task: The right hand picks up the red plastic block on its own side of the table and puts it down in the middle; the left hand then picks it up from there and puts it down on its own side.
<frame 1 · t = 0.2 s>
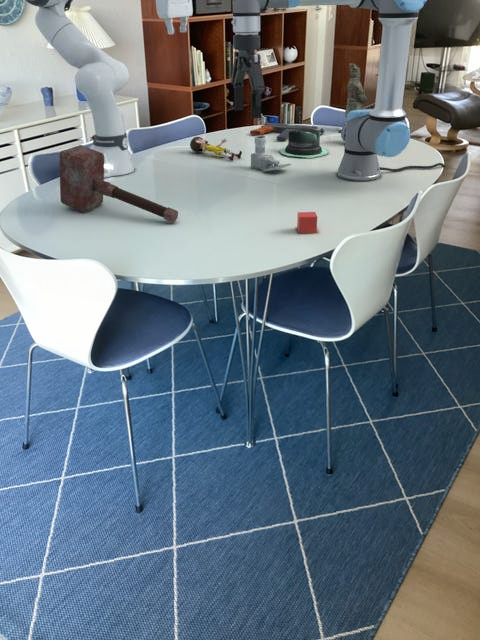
left hand: (177, 33, 183), 48 cm above the table, tool pointing down, fingers open, 8 cm apart
right hand: (247, 114, 165), 28 cm above the table, tool pointing down, fingers open, 13 cm apart
figurine: (214, 155, 234), on the table
submachine gun: (285, 135, 264), on the table
statue: (353, 131, 270), on the table
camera: (268, 170, 213), on the table
sledgehammer: (121, 214, 173), on the table
dark green rounded hat: (303, 152, 236), on the table
toy: (355, 144, 247), on the table
block: (306, 230, 158), on the table
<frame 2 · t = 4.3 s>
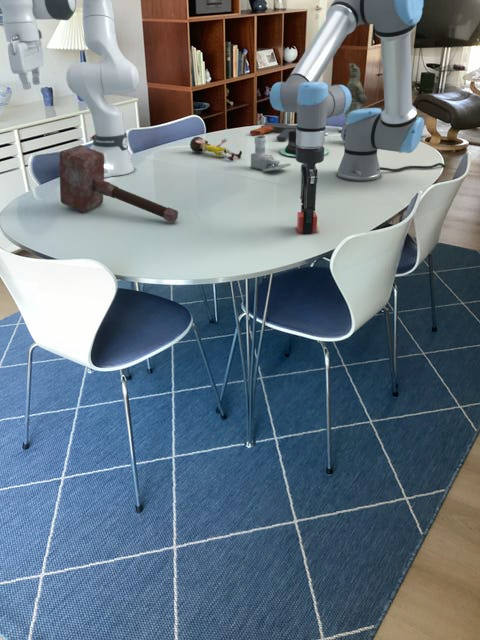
left hand: (32, 86, 163), 36 cm above the table, tool pointing down, fingers open, 8 cm apart
right hand: (306, 229, 158), 0 cm above the table, tool pointing down, fingers closed on block, 4 cm apart
block: (306, 230, 158), on the table, touching right hand
everything else where it was.
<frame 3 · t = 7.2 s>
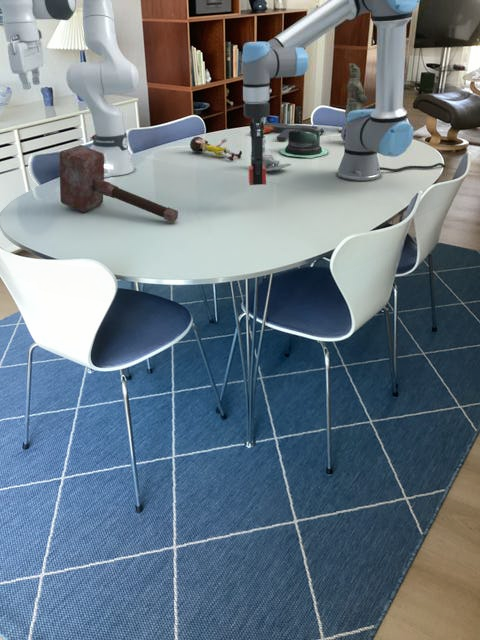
left hand: (32, 86, 163), 36 cm above the table, tool pointing down, fingers open, 8 cm apart
right hand: (257, 181, 171), 8 cm above the table, tool pointing down, fingers closed on block, 4 cm apart
block: (257, 182, 172), point 8 cm above the table, touching right hand
everything else where it was.
when the right hand's fingers open (1 cm above the table, at t = 10.1 s): block stays where it is, on the table.
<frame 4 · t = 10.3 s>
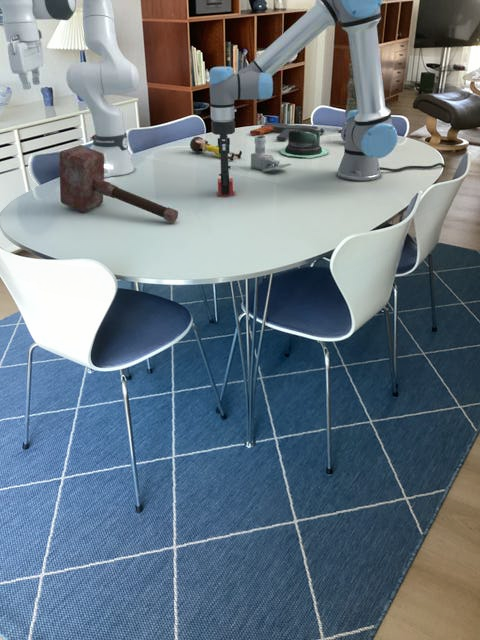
left hand: (32, 86, 163), 36 cm above the table, tool pointing down, fingers open, 8 cm apart
right hand: (225, 191, 188), 1 cm above the table, tool pointing down, fingers open, 6 cm apart
block: (225, 194, 189), on the table
everything else where it was.
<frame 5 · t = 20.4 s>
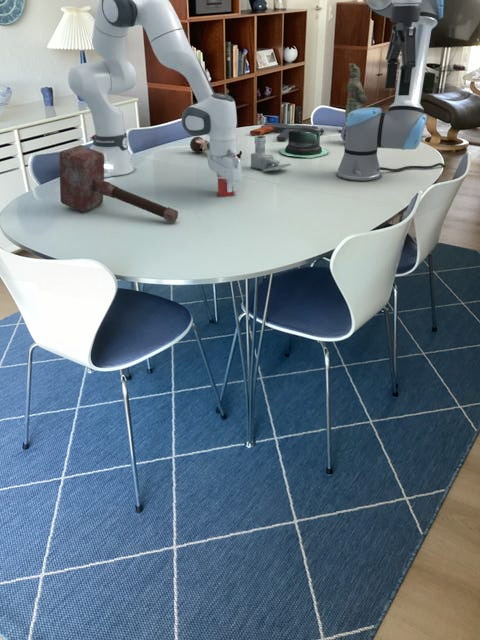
left hand: (225, 189, 188), 2 cm above the table, tool pointing down, fingers closed on block, 5 cm apart
right hand: (396, 91, 157), 34 cm above the table, tool pointing down, fingers open, 13 cm apart
block: (225, 194, 189), on the table, touching left hand
everything else where it was.
when the left hand's fingers open (2 cm above the table, at t = 30.3 s): block stays where it is, on the table.
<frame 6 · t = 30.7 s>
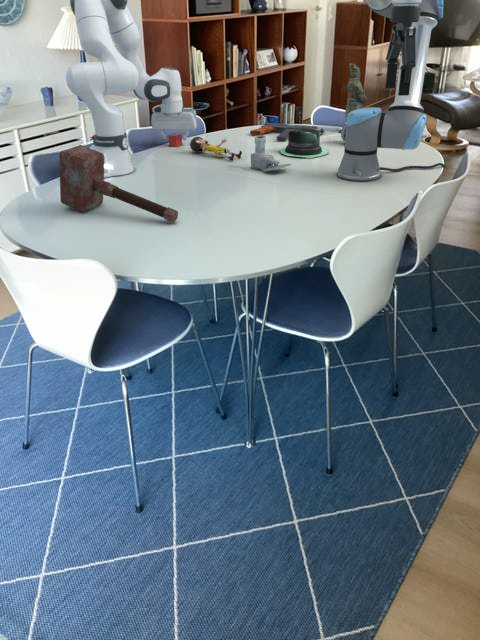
left hand: (175, 139, 250), 2 cm above the table, tool pointing down, fingers open, 8 cm apart
right hand: (396, 91, 157), 34 cm above the table, tool pointing down, fingers open, 13 cm apart
block: (175, 145, 252), on the table
everything else where it was.
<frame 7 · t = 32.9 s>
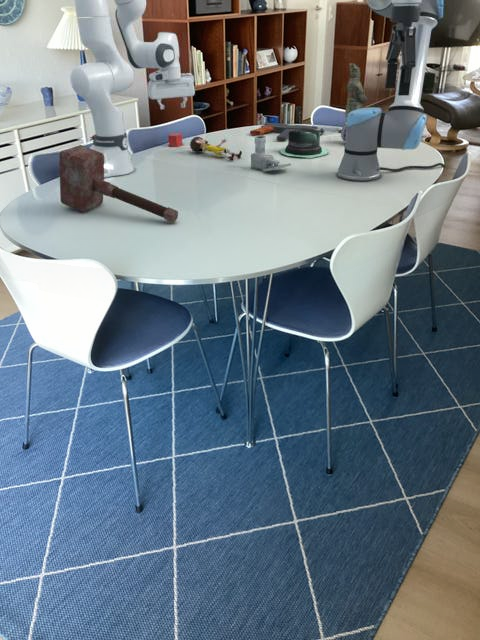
left hand: (172, 108, 243), 16 cm above the table, tool pointing down, fingers open, 8 cm apart
right hand: (396, 91, 157), 34 cm above the table, tool pointing down, fingers open, 13 cm apart
nothing on the table moved.
at the end: block inside the target area (0.1 cm from its centre), on the table; block tilted 0°; the two hands never held the block at the same time; the left hand is holding nothing; the right hand is holding nothing; block at rest at the end (0.0 cm/s) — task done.
